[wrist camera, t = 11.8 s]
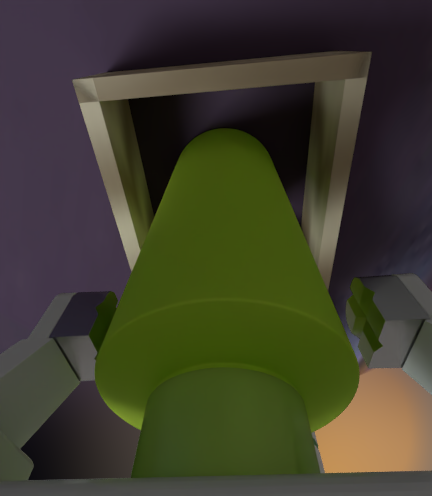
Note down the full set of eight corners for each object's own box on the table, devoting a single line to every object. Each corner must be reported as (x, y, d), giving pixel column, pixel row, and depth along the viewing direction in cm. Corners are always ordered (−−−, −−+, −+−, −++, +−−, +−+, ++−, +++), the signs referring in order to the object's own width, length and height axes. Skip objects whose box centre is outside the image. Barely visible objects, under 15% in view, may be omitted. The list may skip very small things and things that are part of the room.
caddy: (105, 72, 14) (72, 80, 11) (335, 50, 14) (371, 51, 11) (174, 347, 26) (168, 390, 23) (299, 341, 26) (310, 384, 23)
